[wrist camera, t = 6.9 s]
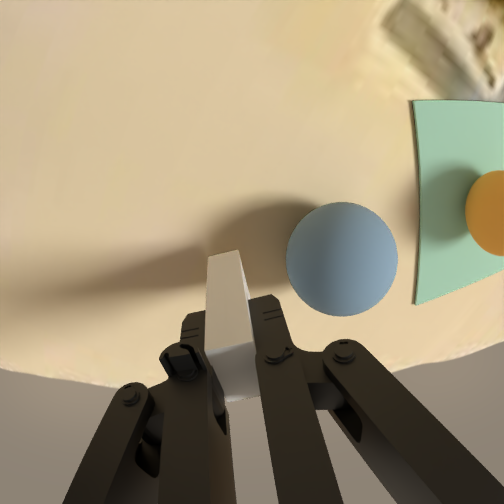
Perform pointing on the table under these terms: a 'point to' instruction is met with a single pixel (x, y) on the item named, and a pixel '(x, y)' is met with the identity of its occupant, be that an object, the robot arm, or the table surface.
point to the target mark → (453, 190)
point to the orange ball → (487, 212)
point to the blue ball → (341, 259)
